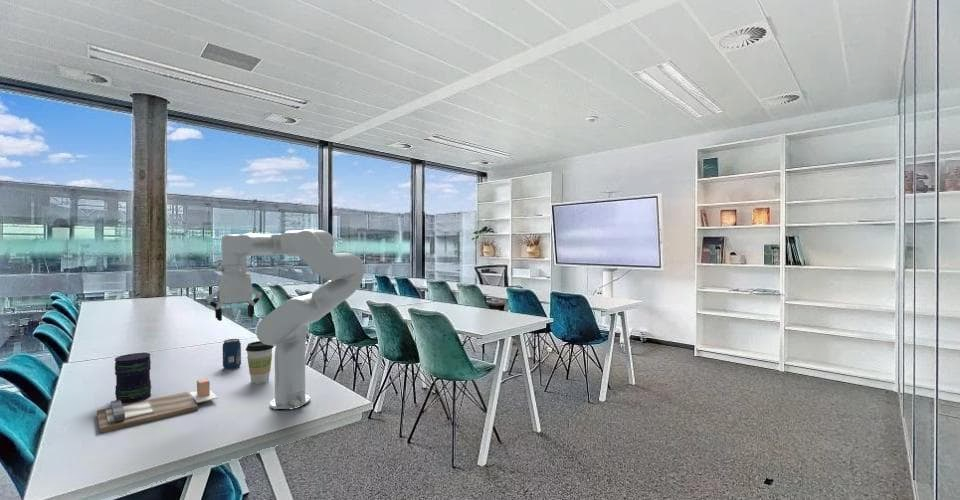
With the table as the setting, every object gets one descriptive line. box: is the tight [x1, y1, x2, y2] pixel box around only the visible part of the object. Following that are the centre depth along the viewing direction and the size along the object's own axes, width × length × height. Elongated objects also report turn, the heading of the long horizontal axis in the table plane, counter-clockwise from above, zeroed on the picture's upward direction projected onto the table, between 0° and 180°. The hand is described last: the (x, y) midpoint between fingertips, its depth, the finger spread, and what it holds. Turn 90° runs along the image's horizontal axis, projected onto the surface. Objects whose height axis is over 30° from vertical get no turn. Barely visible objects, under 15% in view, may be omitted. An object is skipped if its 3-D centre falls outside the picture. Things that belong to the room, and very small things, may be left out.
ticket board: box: [96, 391, 199, 434], centre depth 138 cm, size 18×24×4 cm
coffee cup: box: [245, 340, 275, 384], centre depth 168 cm, size 10×10×15 cm
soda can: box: [222, 338, 242, 370], centre depth 186 cm, size 7×7×12 cm
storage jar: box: [114, 352, 152, 405], centre depth 150 cm, size 10×10×15 cm
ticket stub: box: [189, 378, 219, 404], centre depth 148 cm, size 12×6×5 cm, turn 44°
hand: (235, 318), depth 149 cm, fingers open, 9 cm apart
